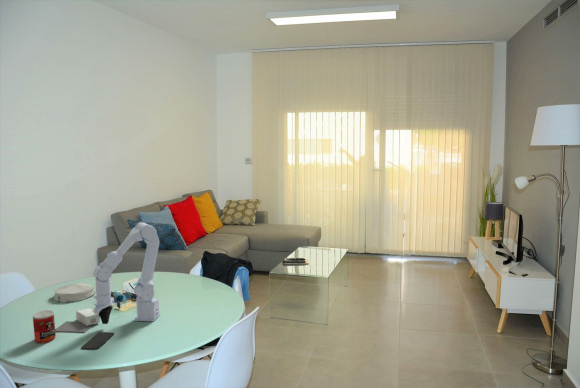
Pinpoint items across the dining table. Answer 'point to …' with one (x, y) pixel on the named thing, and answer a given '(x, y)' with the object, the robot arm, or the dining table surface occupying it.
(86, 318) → the skincare box
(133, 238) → the robot arm
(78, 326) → the mat
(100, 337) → the phone
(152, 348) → the dining table surface
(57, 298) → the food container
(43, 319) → the canned food
